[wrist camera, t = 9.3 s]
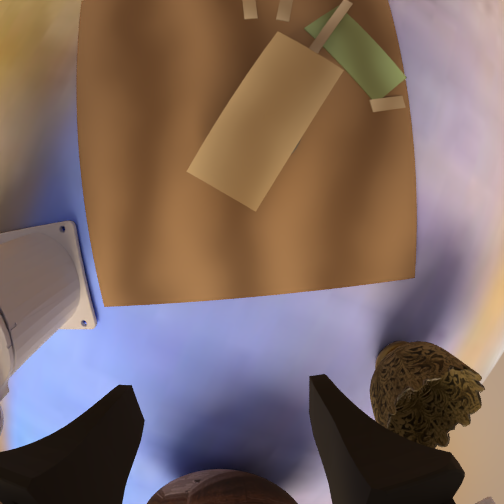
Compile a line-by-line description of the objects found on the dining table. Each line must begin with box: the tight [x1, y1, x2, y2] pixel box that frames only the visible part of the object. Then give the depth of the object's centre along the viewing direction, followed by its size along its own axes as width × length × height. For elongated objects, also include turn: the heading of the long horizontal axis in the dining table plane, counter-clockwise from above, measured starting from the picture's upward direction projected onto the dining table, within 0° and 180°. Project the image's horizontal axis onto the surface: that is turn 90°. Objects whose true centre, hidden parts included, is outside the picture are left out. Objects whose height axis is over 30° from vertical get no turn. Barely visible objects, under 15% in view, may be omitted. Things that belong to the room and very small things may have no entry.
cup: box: [370, 341, 485, 449], centre depth 19 cm, size 8×7×8 cm
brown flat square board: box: [77, 0, 417, 307], centre depth 18 cm, size 21×22×1 cm
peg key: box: [186, 0, 353, 212], centre depth 15 cm, size 4×14×4 cm, turn 149°
